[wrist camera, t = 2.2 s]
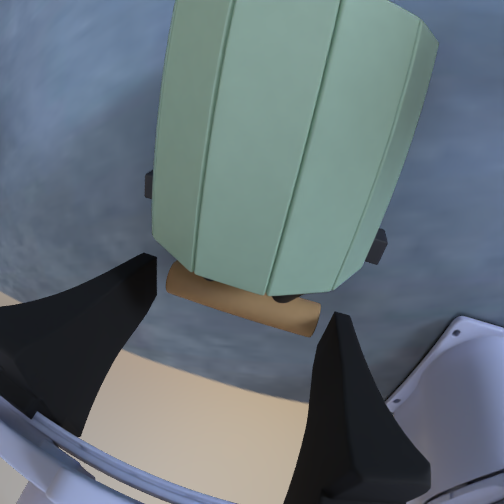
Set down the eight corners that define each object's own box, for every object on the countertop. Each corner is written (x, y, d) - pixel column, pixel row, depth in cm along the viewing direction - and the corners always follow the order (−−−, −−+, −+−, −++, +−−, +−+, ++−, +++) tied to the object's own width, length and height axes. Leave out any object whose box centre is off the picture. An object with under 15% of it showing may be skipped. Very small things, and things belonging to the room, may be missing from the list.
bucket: (419, 59, 9) (339, 287, 15) (212, 10, 10) (181, 240, 16) (508, 50, 3) (329, 411, 10) (101, -27, 4) (105, 335, 10)
